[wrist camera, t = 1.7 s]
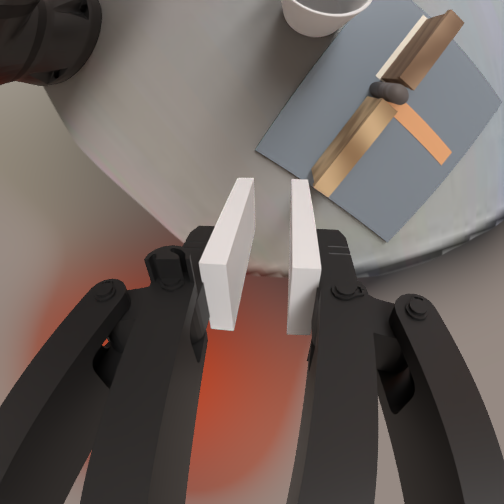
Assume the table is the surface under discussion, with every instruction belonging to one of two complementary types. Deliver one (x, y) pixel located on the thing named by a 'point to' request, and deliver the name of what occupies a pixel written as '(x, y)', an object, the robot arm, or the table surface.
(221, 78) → the table surface
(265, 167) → the table surface
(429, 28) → the base
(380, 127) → the wooden board
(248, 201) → the robot arm
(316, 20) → the mug
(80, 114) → the table surface
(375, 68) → the card
